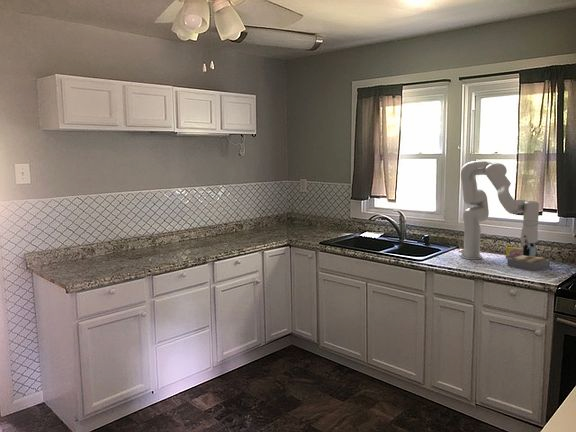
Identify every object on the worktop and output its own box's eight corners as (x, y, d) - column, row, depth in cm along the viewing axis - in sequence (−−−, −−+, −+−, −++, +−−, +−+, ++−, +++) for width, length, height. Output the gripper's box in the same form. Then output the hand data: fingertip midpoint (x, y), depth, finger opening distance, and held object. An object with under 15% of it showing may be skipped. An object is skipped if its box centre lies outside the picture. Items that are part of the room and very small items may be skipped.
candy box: (504, 260, 302) (505, 246, 301) (506, 259, 303) (506, 246, 302) (533, 264, 291) (534, 250, 290) (534, 263, 292) (535, 249, 291)
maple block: (512, 265, 282) (512, 257, 281) (523, 262, 289) (524, 254, 288) (533, 269, 272) (533, 261, 272) (544, 266, 279) (544, 258, 279)
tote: (507, 267, 283) (507, 259, 282) (522, 263, 292) (522, 255, 291) (534, 272, 270) (535, 264, 269) (549, 268, 279) (550, 259, 278)
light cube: (522, 255, 280) (522, 246, 280) (526, 254, 283) (527, 245, 283) (530, 256, 276) (531, 247, 276) (535, 255, 279) (536, 246, 279)
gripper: (532, 221, 285) (530, 251, 288) (515, 223, 276) (514, 255, 278) (545, 222, 279) (543, 253, 282) (529, 225, 269) (527, 258, 272)
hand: (528, 254), depth 280 cm, fingers closed on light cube, 4 cm apart
